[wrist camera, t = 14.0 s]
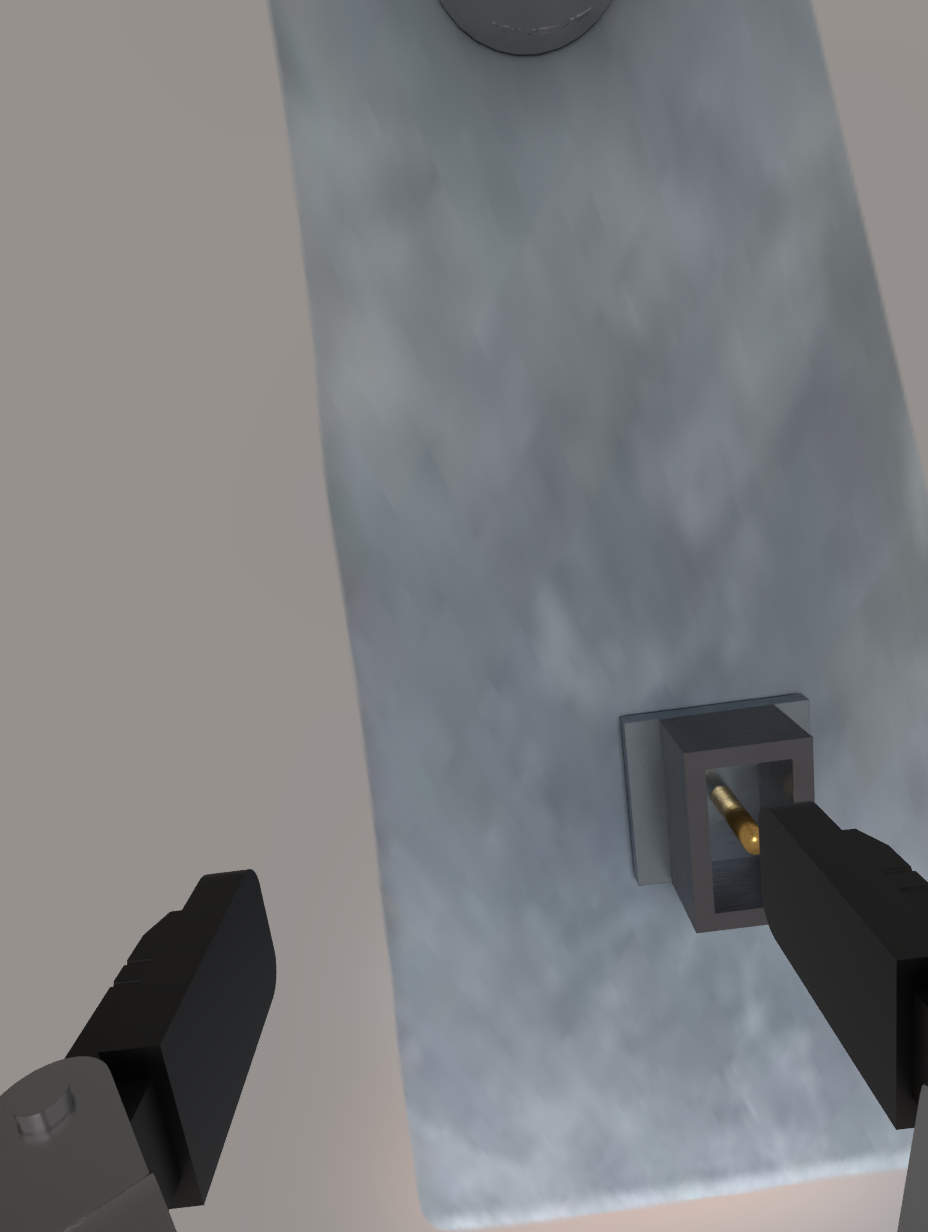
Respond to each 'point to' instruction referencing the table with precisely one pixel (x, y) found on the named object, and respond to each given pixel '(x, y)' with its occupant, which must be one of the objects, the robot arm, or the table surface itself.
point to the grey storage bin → (688, 750)
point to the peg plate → (726, 791)
